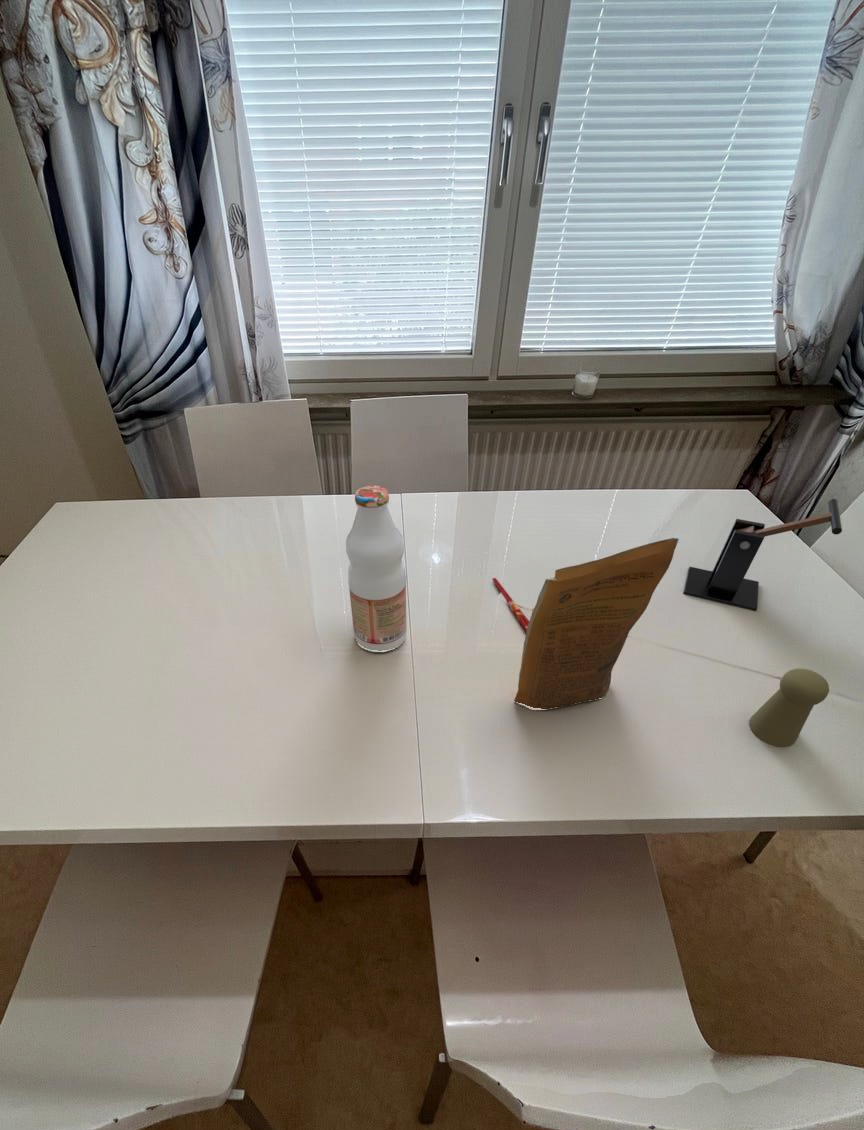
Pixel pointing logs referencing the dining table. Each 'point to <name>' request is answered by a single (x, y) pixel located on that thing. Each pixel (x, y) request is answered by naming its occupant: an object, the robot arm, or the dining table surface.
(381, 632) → the fruit juice
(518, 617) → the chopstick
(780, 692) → the cork
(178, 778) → the dining table surface
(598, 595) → the pancake mix bag
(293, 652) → the dining table surface
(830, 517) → the wood and metal hammer
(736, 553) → the black lever stand
